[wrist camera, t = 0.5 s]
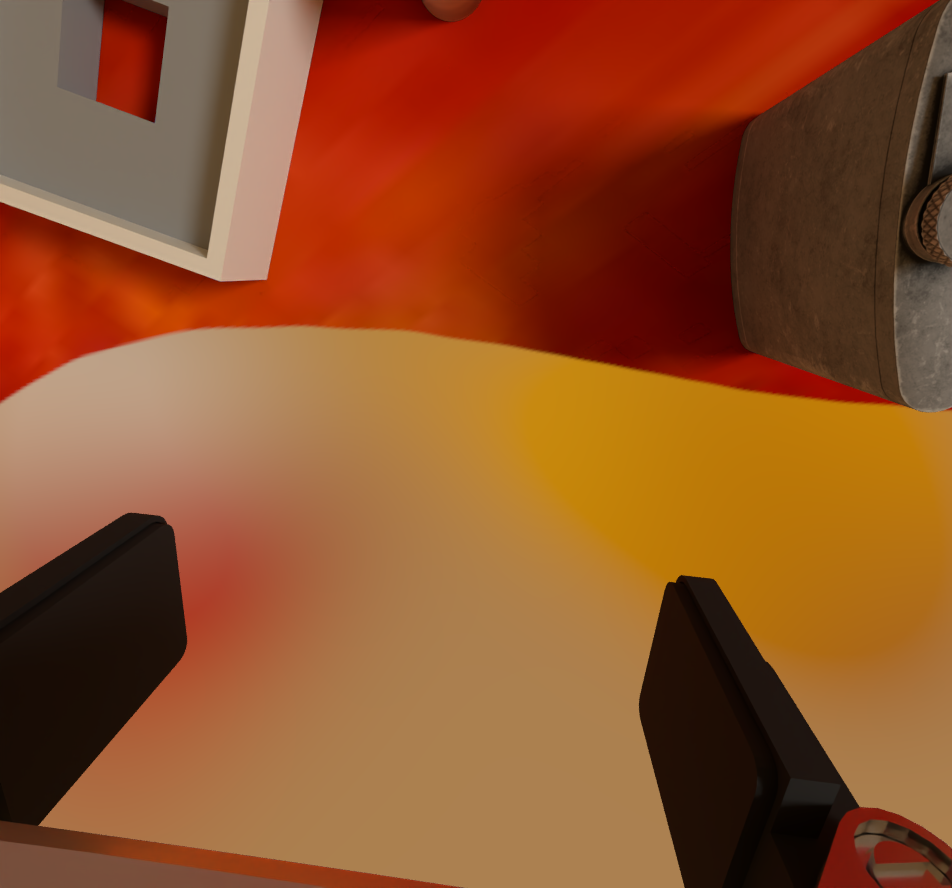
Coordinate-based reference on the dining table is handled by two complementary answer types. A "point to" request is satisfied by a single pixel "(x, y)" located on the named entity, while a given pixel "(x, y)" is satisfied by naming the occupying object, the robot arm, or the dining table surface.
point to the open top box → (159, 128)
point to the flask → (855, 221)
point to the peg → (451, 8)
